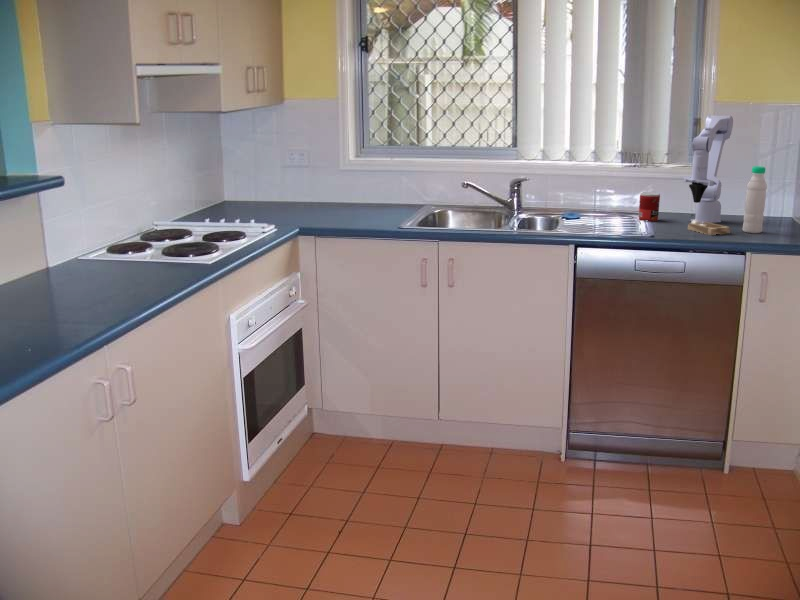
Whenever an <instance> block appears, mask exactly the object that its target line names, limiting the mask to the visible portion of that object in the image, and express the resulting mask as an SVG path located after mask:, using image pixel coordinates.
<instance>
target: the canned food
mask: <svg viewBox="0 0 800 600" xmlns="http://www.w3.org/2000/svg"><path fill="white" fill-rule="evenodd" d="M660 198H661V194H660V193H657V192H650V191H649V192H648V191H647V192H640V194H639V204H638V205H639V206H638V207H639V208H638V220H639V221H641V220H648V221H647V222H657V221H658V220H659V213H660V212H659V210H660V203H661V202H660V200H661V199H660Z"/></svg>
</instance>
